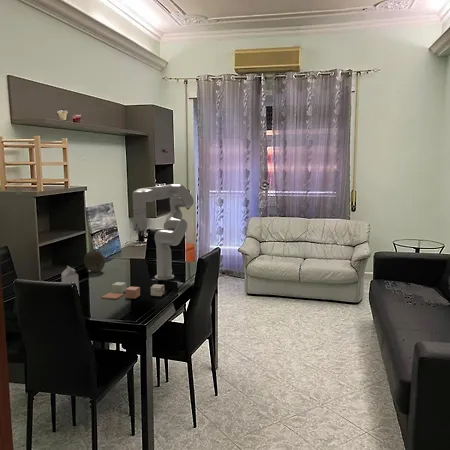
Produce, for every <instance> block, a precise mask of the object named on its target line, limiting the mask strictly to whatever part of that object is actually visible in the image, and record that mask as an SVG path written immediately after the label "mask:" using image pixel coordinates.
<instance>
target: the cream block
mask: <svg viewBox="0 0 450 450" xmlns="http://www.w3.org/2000/svg"><path fill="white" fill-rule="evenodd" d="M164 294H165V284H152V286H150V296H151V297H152V296H153V297H162V296H163V295H164Z"/></svg>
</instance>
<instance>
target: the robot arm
mask: <svg viewBox="0 0 450 450" xmlns="http://www.w3.org/2000/svg"><path fill="white" fill-rule="evenodd" d="M165 199H169V206H170V213H169V214H168V217H166V219H165V222H164V224H163V229H159V230H157V231H156V232H155V233H154V242H155V247H156V275H154V279H155V280H161V281H165V280H166V281H167V280H173V279H174V278H175V275H174V274H172V273H173V269H172V249H171V246H174V247H175V246H178V245H179V244H180V243H181V241H182V240H183V238H184V236H185V234H186V232H187V230H188V222H187V220H186V219H184V218H183V212H182V211H181V208H191V207H193V205H194V197H193V195H192V194H191V193H190V191H189V190H188V188H186V186H185V185H183V184H179V183H178V184H175V183H171V184H170V183H169V184H166V185H158V186H152V187H142V188H137V189H136V190H134V191H133V192H132V209H133V211H132V212H133V219H132V220H133V221H132V222H133V225H132V227H133V231H134V232H135V231H136V232H135V233H136V234H137V238H138V240H137V241H138V242H139V243H143V242H145V231H146V230H147V227H148V225H147V223H148V221H147V204H146V203H148V202H149V203H152V202H154V201H156V200H165Z"/></svg>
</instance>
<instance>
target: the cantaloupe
mask: <svg viewBox="0 0 450 450" xmlns="http://www.w3.org/2000/svg"><path fill="white" fill-rule="evenodd" d="M83 262H84V266H85V268H86V269H87V270H88V271H90V272H93V273H99V272H101V271H102V270H103V269H104V267H105V265H106V260H105V257H104V255H103V253H102V252H101V251H99V250H90V251H88V252H87V253H86V254H85V255H84V259H83Z"/></svg>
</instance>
